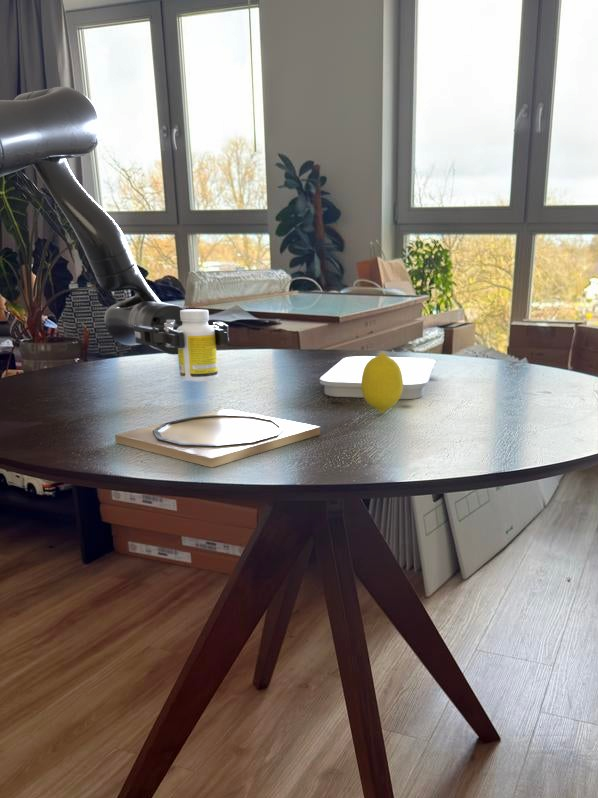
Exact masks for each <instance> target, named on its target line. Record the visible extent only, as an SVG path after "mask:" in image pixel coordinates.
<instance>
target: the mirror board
mask: <svg viewBox="0 0 598 798" xmlns="http://www.w3.org/2000/svg"><path fill="white" fill-rule="evenodd" d="M320 435H321V426H319V425H313V424H309V423H303V422H298V421H293V420H287V419H283V418H277V417H272V416H267V415H261V414H256V413H252V412H251V413H250V412H245V411H240V410H236V409H235V410H234V409H229V408H225V409H220V410H215V411H212V412H207V413H203V414H198V415H195V416H190V417H185V418H180V419H176V420H172V421H168V422H164V423H160V424H155V425H150V426H147V427H142V428H137V429H134V430H127V431H124V432H120V433H116V434H114V438H115V444H119V445H123V446H127V447H130V448H135V449H138V450H142V451H146V452H149V453H154V454H156V455H157V454H158V455H162V456H165V457H169V458H172V459H177V460H181V461H185V462H189V463H193V464H196V465H200V466H203V467H208V468H215V467H219V466H222V465H225V464H228V463H232V462H236V461H238V460H242V459H245V458H248V457H252V456H254V455H258V454H261V453H265V452H268V451H272V450H274V449H278V448H281V447H285V446H287V445H291V444H294V443H298V442H300V441H304V440H306V439H310V438H314V437H317V436H320Z"/></svg>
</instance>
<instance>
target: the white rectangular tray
mask: <svg viewBox="0 0 598 798" xmlns="http://www.w3.org/2000/svg"><path fill="white" fill-rule="evenodd" d="M374 357H375V356H370V355H360V356H359V355H355V356H354V355H353V356H347V357H343V358H342V359H341V360H340V361H338V362H337V363H336V364H335V365H333V366H332V367H331V368H330V369H329V370H328V371H326V372H325V373H324V374H323V375H321V376H320V378H319V384H320V385H322V386H324V395H326V396H329V397H335V398H336V397H338V398H362V399H363V398H364V396H363V393H362V387H361V381H362V374H363V371H364V368H365V366H366V364H367V363H368V362H369V361H370V360H371V359H372V358H374ZM389 357H390V358H392V359H393V360H395V361H396V363H397V364H398V365H399V367H400V369H401V373H402V378H403V389H402V393H401V396H400V398H399V400H416V399H420V398H423V396H424V393H425V391H426V388H427V386H428V384H429V382H430V379H431V377H432V374H433V372H434V369H435V366H436V360H435V359H432V358H426V357H405V356H402V357H401V356H399V357H398V356H394V357H393V356H389ZM364 399H365V398H364Z"/></svg>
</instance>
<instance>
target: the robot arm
mask: <svg viewBox="0 0 598 798" xmlns="http://www.w3.org/2000/svg"><path fill="white" fill-rule="evenodd" d="M101 136H102V122H101V117H100V114H99V112H98V109H97V108H96V106H95V105H94V103H93V102H92V101H91V100H90V99H89V97H88V96H86V94H84V93H83V92H82V91H80V90H78V89H75V88H74V87H73V88H72V87H70V86H54V87H51V88H50V87H49V88H45V89H40V90H39V89H38V90H34V91H29V92H24V93H20V94H18V95H16V97H15V98H14V99H12V100H11V99H0V178H2V177H4V176H5V177H6V176H7V175H11V174H13V173H16V172H19V171H21V170H23V169H25V168H28V167H30V166H33V168H34V169H35V171H36V173H37V174H38V176H39V178H40V179H41V181H42V183H43V184H44V185H45V187H46V189H47V190H48V191H49V193H50V195H51V197H52V198H53V199H54V201H55V203H56V204H57V206H58V207H59V209H60V211H61V212H62V214H63V215H64V217H65V218H66V220H67V221H68V223H69V225H70V227H71V229H72V230H73V232H74V234H75V236H76V238H77V239H78V241H79V243H80V246H81V248H82V249H83V252H84V254H85V256H86V259H87V261H88V263H89V266H90V267H91V270H92V272H93V275H94V277H95V279H96V281H97V283H98V285H99V286H100V288H101V289H102V290H104V291H106V292H111V293H113V292H121V291H126V290H127V291H128V290H129V291H133V293H134V295H133V296H130V297H128V298H125V299H124V300H121V301H118V302H116V303H114V304H112V305H110V306H109V307H108V308H107V309H106V310H105V313H104V321H103V322H104V324H105V325H104V326H105V328H106V330H107V332H108V334H109V335H110V336H111V337H112V338H113V339H114V340H115V341H116V342H118V343H119V344H122V345H125V346H139V345H143V346H144V345H145V346H149V347H151V348H152V349H155V350H156V351H157V350H158V351H160V352H162V353H165V354H167V355H172V356H173V355H175V356H176V355H178V348H184V346H185V345H184V334H183V332H181V331H178V330H177V328H178V327H179V326H182V321H181V319H180V310H187V309H186V308H184V307H182V306H180V305H176V304H172V303H168V302H163V301H161V300H160V299H159V297H158V296H157V295H156V294H155V292H154V291H153V290H152V288H151V287H150V286H149V284H148V283H147V282H146V280H145V278H144V277H143V275H142V273H141V272H140V270H139V267H138V266H137V263H136V261H135V259H134V255H133V253H132V251H131V248H130V246H129V244H128V241H127V239H126V237H125V235H124V233H123V231H122V229H121V228H120V227H119V225H118V224H117V223H116V222H115V220H114V219H113V218H112V217H111V216H110V215H109V214H108V213H107V212H106V210H104V208H103V207H102V206H101V205H100V204H98V203H97V202H96V201H95V200H94V198H93V197H92V196H91V195H90V194H88V192H87V191H86V190H85V189H84V188H83V186H82V185H81V184H80V182H79V181H78V180H77V178H76V177H75V175H74V173H73V172H72V170H71V168H70V166H69V163H68V161H67V159H72V158H73V159H74V158H78V157H79V158H80V157H84V156H86V155H88V154H90V153H92V152H93V151H94V150H95V149H96V148H97V146H98V144H99V142H100V141H101V140H100V139H101ZM208 325H210V323H209V322H208ZM210 326H212V327H213V328H214V330H215V340H216V346H220V347H224V346H226V344H227V343H229V342H230V337H229V325H228V324H226V323H225V322H223V321H220V320H217V321H215V322H212V325H210Z"/></svg>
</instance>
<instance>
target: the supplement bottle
mask: <svg viewBox="0 0 598 798" xmlns="http://www.w3.org/2000/svg"><path fill="white" fill-rule="evenodd" d="M180 319H181V321H182V326H179V327H178V328H177V330H178V331H181V332H183V334H184V345H185V346H184V348H178V354H177V356H178V368H179V376H180V379H181V380H182V381H185V382H209V381H214V380H216V379H218V374H219V371H218V357H217V345H216V340H215V330H214V328H213V327H212V326H213V325H211V326H210V324H209V325H208V323H209V321H210V313H209V310H208V309H201V308H200V309H197V308H195V309H193V308H192V309H191V308H190V309H189V308H187V309H186V310H180Z"/></svg>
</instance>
